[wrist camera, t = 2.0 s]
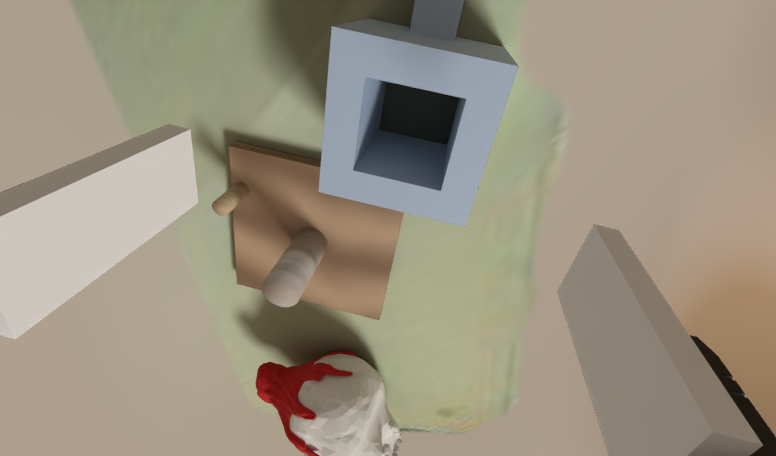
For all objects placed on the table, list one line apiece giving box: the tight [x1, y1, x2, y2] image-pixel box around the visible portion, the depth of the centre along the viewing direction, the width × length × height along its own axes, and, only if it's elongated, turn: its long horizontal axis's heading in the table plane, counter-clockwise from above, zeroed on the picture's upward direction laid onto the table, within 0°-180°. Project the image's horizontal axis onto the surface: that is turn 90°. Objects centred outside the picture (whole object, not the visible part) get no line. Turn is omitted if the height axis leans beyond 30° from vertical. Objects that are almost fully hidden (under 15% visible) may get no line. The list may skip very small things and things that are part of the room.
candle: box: [256, 351, 402, 456], centre depth 36 cm, size 9×11×15 cm
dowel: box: [212, 182, 250, 216], centre depth 27 cm, size 1×1×3 cm
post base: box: [229, 141, 404, 320], centre depth 28 cm, size 13×13×7 cm
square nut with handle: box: [319, 0, 518, 227], centre depth 20 cm, size 12×8×7 cm
